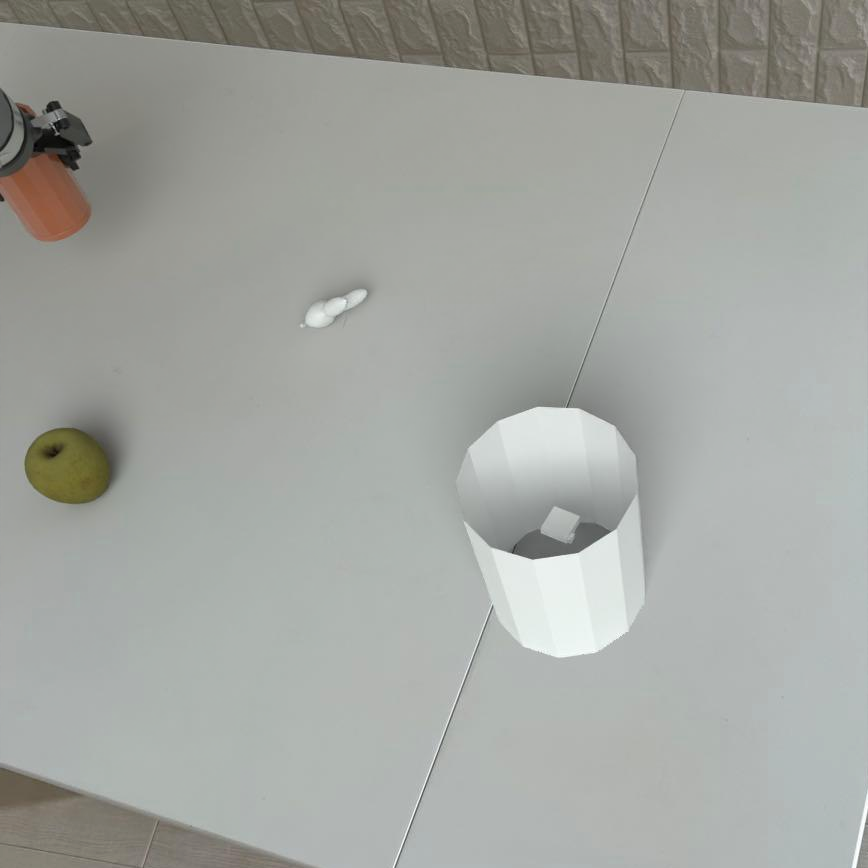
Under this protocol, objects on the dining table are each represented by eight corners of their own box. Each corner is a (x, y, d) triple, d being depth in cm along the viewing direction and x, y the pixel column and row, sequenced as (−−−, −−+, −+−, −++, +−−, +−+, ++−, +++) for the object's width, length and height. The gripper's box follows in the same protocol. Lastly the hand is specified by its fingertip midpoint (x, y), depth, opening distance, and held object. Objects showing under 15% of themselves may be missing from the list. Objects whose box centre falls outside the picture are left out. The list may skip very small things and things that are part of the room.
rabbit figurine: (310, 305, 120) (362, 275, 117) (328, 336, 121) (380, 307, 118) (284, 319, 115) (338, 288, 112) (303, 351, 116) (357, 321, 113)
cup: (17, 243, 114) (-48, 152, 104) (39, 196, 118) (-22, 104, 108) (80, 241, 113) (20, 149, 103) (100, 193, 117) (44, 100, 107)
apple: (75, 451, 114) (40, 411, 107) (136, 466, 111) (104, 426, 105) (37, 508, 110) (-1, 470, 104) (99, 525, 108) (64, 487, 102)
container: (600, 682, 92) (582, 586, 77) (463, 619, 97) (420, 517, 82) (671, 553, 98) (667, 440, 83) (538, 499, 103) (512, 383, 88)
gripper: (-109, 215, 92) (-37, 244, 114) (110, 122, 95) (139, 168, 117) (-159, 132, 90) (-76, 178, 112) (66, 40, 93) (104, 102, 115)
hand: (34, 173), depth 114 cm, fingers closed on cup, 7 cm apart
